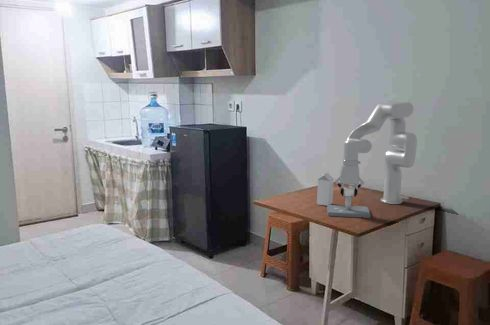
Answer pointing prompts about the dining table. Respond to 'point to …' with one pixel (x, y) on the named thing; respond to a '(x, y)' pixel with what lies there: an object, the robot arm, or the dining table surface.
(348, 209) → the post stand
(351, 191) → the white rounded lump
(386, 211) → the dining table surface
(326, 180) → the milk carton
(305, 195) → the dining table surface
